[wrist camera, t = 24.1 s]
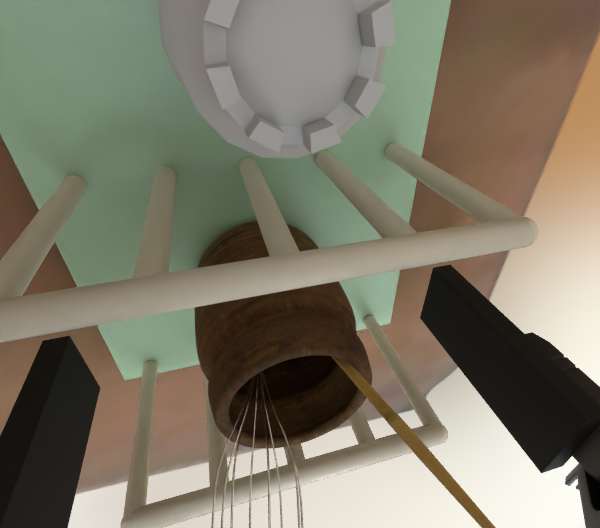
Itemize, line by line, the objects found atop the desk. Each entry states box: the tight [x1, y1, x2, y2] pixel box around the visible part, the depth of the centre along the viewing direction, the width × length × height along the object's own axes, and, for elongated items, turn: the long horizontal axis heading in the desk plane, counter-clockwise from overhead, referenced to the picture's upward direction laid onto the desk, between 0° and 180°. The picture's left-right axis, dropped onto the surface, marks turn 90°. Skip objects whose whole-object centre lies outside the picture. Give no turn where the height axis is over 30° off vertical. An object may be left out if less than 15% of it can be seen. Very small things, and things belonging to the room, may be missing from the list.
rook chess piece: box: [158, 0, 396, 158], centre depth 8 cm, size 4×4×8 cm
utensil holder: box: [195, 221, 495, 528], centre depth 11 cm, size 6×6×12 cm
